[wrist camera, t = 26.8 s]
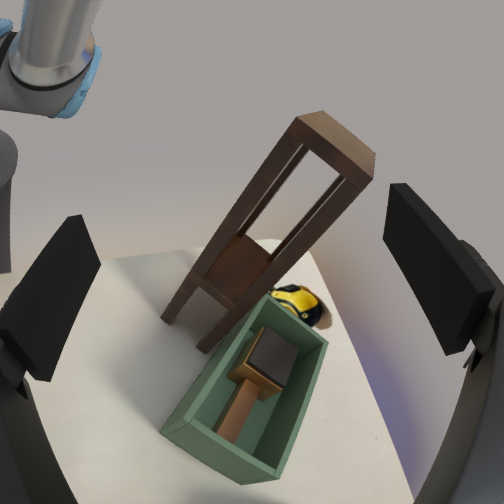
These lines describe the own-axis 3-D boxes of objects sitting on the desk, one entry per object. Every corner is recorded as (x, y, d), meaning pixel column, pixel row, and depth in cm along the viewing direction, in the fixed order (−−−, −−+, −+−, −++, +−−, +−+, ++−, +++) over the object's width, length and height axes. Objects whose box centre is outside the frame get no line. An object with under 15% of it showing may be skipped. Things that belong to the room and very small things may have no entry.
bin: (158, 432, 30) (181, 418, 26) (237, 319, 48) (265, 291, 43) (241, 485, 30) (279, 479, 26) (296, 364, 48) (328, 342, 43)
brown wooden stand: (160, 317, 41) (296, 116, 23) (203, 272, 50) (322, 110, 33) (205, 354, 40) (373, 178, 23) (241, 303, 50) (375, 153, 33)
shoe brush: (189, 437, 31) (208, 427, 28) (246, 341, 45) (266, 323, 42) (232, 463, 31) (256, 457, 28) (278, 365, 45) (300, 349, 42)
